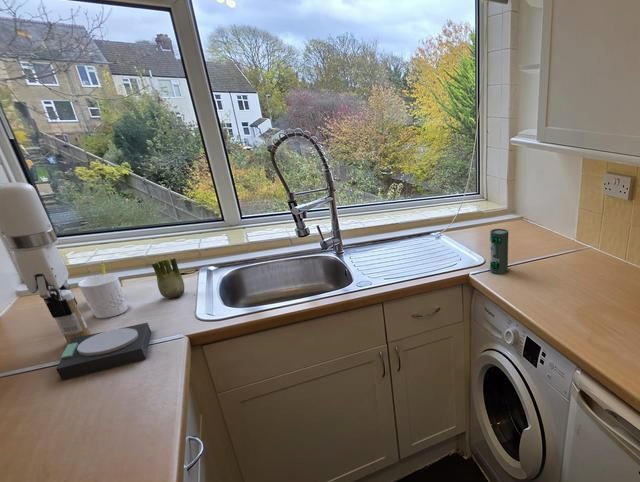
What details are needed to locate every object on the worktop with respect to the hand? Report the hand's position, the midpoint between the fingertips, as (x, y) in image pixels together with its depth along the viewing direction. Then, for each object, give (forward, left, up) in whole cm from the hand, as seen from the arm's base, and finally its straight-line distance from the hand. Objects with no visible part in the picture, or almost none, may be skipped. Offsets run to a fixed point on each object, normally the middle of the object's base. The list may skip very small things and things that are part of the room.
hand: (65, 310), depth 97 cm
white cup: (+4, +15, -9) cm, 18 cm away
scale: (+7, -11, -9) cm, 16 cm away
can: (+113, -18, -9) cm, 115 cm away
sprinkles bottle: (0, 0, -9) cm, 9 cm away
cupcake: (+2, +25, -9) cm, 27 cm away
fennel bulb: (+18, +18, -9) cm, 27 cm away
